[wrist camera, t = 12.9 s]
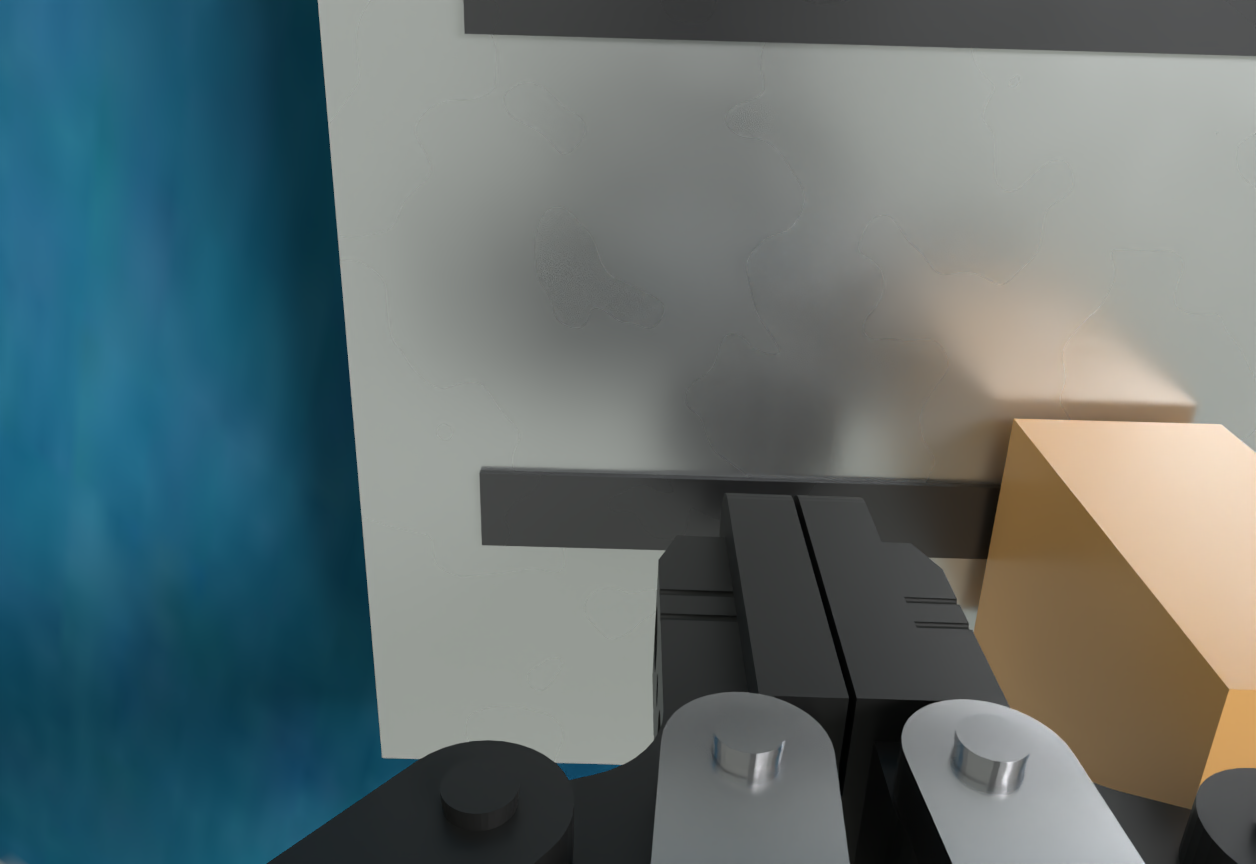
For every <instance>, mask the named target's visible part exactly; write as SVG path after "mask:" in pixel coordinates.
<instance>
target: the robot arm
mask: <svg viewBox="0 0 1256 864" xmlns="http://www.w3.org/2000/svg"><path fill="white" fill-rule="evenodd" d="M652 683H653V735H654V741H653V742H652V743H651V744H650V745H649V746H648V747H647V748H646V750H644V751H643V752H642V753H641V754H639V755H638V756H637V757H636V758H634V759H632V760H631V761H629V762H627V763H625V764H624V765H621V766H619V767H617V768H614V769H612V770H609V771H606V772H602V773H599V774H595V775H591V776H587V777H582V778H577V779H573V780H568V778H567V777H566V775H565V773H564V772H563V771H562V769H561V768H560V767H559V766H558V765H557V764H556V763H555V762H554V761H552V760H551V759H549V758H548V757H547V756H545V755H544V754H542V753H540V752H538V751H536V750H534V749H532V748H529V747H526V746H523V745H520V744H516V743H511V742H505V741H494V740H482V741H470V742H464V743H458V744H455V745H451V746H448V747H444V748H442V749H439V750H437V751H435V752H432V753H430V754H428V755H426V756H425V757H423V758H421V759H420V760H418V761H416V762H415V763H413V764H412V765H411V766H409V767H408V768H406V769H405V770H403V771H402V772H400V773H399V774H397V775H396V776H394V777H393V778H391V779H390V780H389V781H387V782H386V783H384V784H383V785H381V786H380V787H378V788H377V789H375V790H374V791H372V792H371V793H369V794H368V795H367V796H365V797H364V798H362V799H361V800H359V801H358V802H356V803H355V804H353V805H352V806H350V807H349V808H347V809H346V810H345V811H343V812H342V813H340V814H339V815H337V816H336V817H334V818H333V819H331V820H330V821H328V822H327V823H325V824H324V825H323V826H321V827H320V828H318V829H317V830H315V831H314V832H312V833H311V834H309V835H308V836H306V837H305V838H303V839H302V840H301V841H299V842H298V843H296V844H295V845H293V846H292V847H290V848H289V849H287V850H286V851H284V852H283V853H281V854H280V855H279V856H277V857H276V858H274V859H273V860H271V861H270V862H268V863H267V864H1256V768H1235V769H1228V770H1224V771H1221V772H1218V773H1215V774H1213V775H1212V776H1210V777H1208V778H1207V779H1205V781H1204V782H1203V783H1202V784H1201V785H1200V786H1199V789H1198V791H1197V794H1196V797H1195V800H1194V803H1193V806H1192V809H1187V808H1183V807H1179V806H1175V805H1172V804H1168V803H1164V802H1160V801H1156V800H1152V799H1148V798H1144V797H1140V796H1136V795H1132V794H1128V793H1125V792H1121V791H1117V790H1114V789H1111V788H1108V787H1104V786H1102V785H1099V784H1097V783H1094V782H1092V781H1091V779H1090V778H1089V776H1088V775H1087V773H1086V772H1085V770H1084V769H1083V767H1082V765H1081V764H1080V762H1079V761H1078V759H1077V758H1076V756H1075V755H1074V753H1073V752H1072V750H1071V749H1070V748H1069V747H1068V745H1067V744H1066V743H1065V742H1064V741H1063V740H1062V739H1061V738H1060V737H1059V736H1058V735H1057V734H1056V733H1055V732H1053V731H1052V730H1051V729H1049V728H1048V727H1047V726H1045V725H1044V724H1042V723H1041V722H1039V721H1037V720H1036V719H1034V718H1032V717H1030V716H1028V715H1026V714H1024V713H1022V712H1019V711H1017V710H1014V709H1011V708H1010V706H1009V704H1008V702H1007V700H1006V698H1005V696H1004V694H1003V692H1002V690H1001V688H1000V686H999V684H998V682H997V680H996V677H995V675H994V673H993V671H992V669H991V667H990V665H989V663H988V661H987V659H986V657H985V655H984V653H983V651H982V649H981V647H980V645H979V643H978V641H977V639H976V637H975V635H974V633H973V630H970V629H969V622H968V620H967V618H966V616H965V614H964V612H963V610H962V608H961V606H960V605H957V598H956V596H955V594H954V592H953V590H952V588H951V586H950V584H949V581H948V579H947V577H946V575H945V573H944V571H943V569H942V568H940V567H939V566H938V565H937V564H936V563H934V562H933V561H932V560H931V559H929V558H928V557H927V556H926V555H925V554H923V553H922V552H921V551H920V550H918V549H917V548H916V547H915V546H914V545H912V544H911V543H890V542H881V539H880V537H879V535H878V532H877V530H876V527H875V525H874V522H873V520H872V517H871V515H870V513H869V510H868V508H867V505H866V503H865V501H864V499H863V498H861V497H837V496H808V495H795V496H794V497H793V498H792V496H791V495H773V494H744V493H725V494H724V496H723V501H722V509H721V520H720V532H719V537H708V536H678V535H677V536H676V537H675V539H674V540H673V541H672V543H671V544H670V545H669V547H668V548H667V549H666V551H665V552H664V553H663V555H662V556H661V557H660V559H659V560H658V578H657V597H656V616H655V635H654V654H653V673H652Z"/></svg>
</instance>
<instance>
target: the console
mask: <svg viewBox="0 0 1256 864" xmlns="http://www.w3.org/2000/svg"><path fill="white" fill-rule="evenodd" d="M318 9H319V21H320V33H321V44H322V56H323V68H324V80H325V91H326V103H327V115H328V127H329V139H330V150H331V162H332V174H333V186H334V197H335V209H336V221H337V233H338V244H339V256H340V268H341V280H342V291H343V303H344V315H345V327H346V339H347V350H348V362H349V374H350V386H351V397H352V409H353V421H354V433H355V444H356V456H357V468H358V480H359V492H360V503H361V515H362V527H363V539H364V550H365V562H366V574H367V586H368V597H369V609H370V621H371V633H372V645H373V656H374V668H375V680H376V692H377V703H378V715H379V727H380V739H381V750H382V758H402V759H421V758H423V757H425V756H426V755H428V754H430V753H432V752H435V751H437V750H439V749H442V748H444V747H448V746H451V745H455V744H458V743H464V742H470V741H482V740H494V741H505V742H511V743H516V744H520V745H523V746H526V747H529V748H532V749H534V750H536V751H538V752H540V753H542V754H544V755H545V756H547V757H548V758H549V759H551V760H552V761H554V762H555V763H583V764H619V765H624V764H625V763H627V762H629V761H631V760H632V759H634V758H636V757H637V756H638V755H639V754H641V753H642V752H643V751H644V750H646V748H647V747H648V746H649V745H650V744H651V743H652V742H653V741H654V735H653V683H652V673H653V654H654V635H655V616H656V597H657V578H658V560H659V559H660V557H661V556H662V555H663V553H664V552H665V551H666V549H667V548H668V547H669V545H670V544H671V543H672V541H673V540H674V539H675V537H676V536H677V535H678V536H708V537H719V532H720V520H721V509H722V501H723V496H724V494H725V493H744V494H773V495H791V496H792V498H793V497H794V496H795V495H808V496H837V497H861V498H863V499H864V501H865V503H866V505H867V508H868V510H869V513H870V515H871V517H872V520H873V522H874V525H875V527H876V530H877V532H878V535H879V537H880V539H881V542H890V543H911V544H912V545H914V546H915V547H916V548H917V549H918V550H920V551H921V552H922V553H923V554H925V555H926V556H927V557H928V558H929V559H931V560H932V561H933V562H934V563H936V564H937V565H938V566H939V567H940V568H942V569H943V571H944V573H945V575H946V577H947V579H948V581H949V584H950V586H951V588H952V590H953V592H954V594H955V596H956V598H957V605H960V606H961V608H962V610H963V612H964V614H965V616H966V618H967V620H968V622H969V629H970V630H973V633H974V627H975V622H976V617H977V611H978V606H979V601H980V595H981V590H982V585H983V579H984V574H985V569H986V563H987V558H988V553H989V547H990V542H991V537H992V531H993V526H994V521H995V515H996V510H997V505H998V499H999V494H1000V489H1001V483H1002V478H1003V473H1004V467H1005V462H1006V457H1007V451H1008V446H1009V440H1010V435H1011V430H1012V424H1013V419H1014V418H1015V419H1051V420H1087V421H1123V422H1158V423H1194V424H1221V425H1223V426H1224V427H1225V428H1226V429H1228V430H1229V431H1230V432H1231V433H1232V434H1234V435H1235V436H1236V437H1237V438H1239V439H1240V440H1241V441H1242V442H1244V443H1245V444H1246V445H1247V446H1248V447H1250V448H1251V449H1252V450H1253V451H1255V452H1256V0H318Z"/></svg>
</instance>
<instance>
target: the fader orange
mask: <svg viewBox="0 0 1256 864" xmlns="http://www.w3.org/2000/svg"><path fill="white" fill-rule="evenodd" d="M974 635H975V637H976V639H977V641H978V643H979V645H980V647H981V649H982V651H983V653H984V655H985V657H986V659H987V661H988V663H989V665H990V667H991V669H992V671H993V673H994V675H995V677H996V680H997V682H998V684H999V686H1000V688H1001V690H1002V692H1003V694H1004V696H1005V698H1006V700H1007V702H1008V704H1009V706H1010V708H1011V709H1014V710H1017V711H1019V712H1022V713H1024V714H1026V715H1028V716H1030V717H1032V718H1034V719H1036V720H1037V721H1039V722H1041V723H1042V724H1044V725H1045V726H1047V727H1048V728H1049V729H1051V730H1052V731H1053V732H1055V733H1056V734H1057V735H1058V736H1059V737H1060V738H1061V739H1062V740H1063V741H1064V742H1065V743H1066V744H1067V745H1068V747H1069V748H1070V749H1071V750H1072V752H1073V753H1074V755H1075V756H1076V758H1077V759H1078V761H1079V762H1080V764H1081V765H1082V767H1083V769H1084V770H1085V772H1086V773H1087V775H1088V776H1089V778H1090V779H1091V781H1092V782H1094V783H1097V784H1099V785H1102V786H1104V787H1108V788H1111V789H1114V790H1117V791H1121V792H1125V793H1128V794H1132V795H1136V796H1140V797H1144V798H1148V799H1152V800H1156V801H1160V802H1164V803H1168V804H1172V805H1175V806H1179V807H1183V808H1187V809H1192V806H1193V803H1194V800H1195V797H1196V794H1197V791H1198V789H1199V786H1200V785H1201V784H1202V783H1203V782H1204V781H1205V779H1207V778H1208V777H1210V776H1212V775H1213V774H1215V773H1218V772H1221V771H1224V770H1228V769H1235V768H1256V452H1255V451H1253V450H1252V449H1251V448H1250V447H1248V446H1247V445H1246V444H1245V443H1244V442H1242V441H1241V440H1240V439H1239V438H1237V437H1236V436H1235V435H1234V434H1232V433H1231V432H1230V431H1229V430H1228V429H1226V428H1225V427H1224V426H1223V425H1221V424H1194V423H1158V422H1123V421H1087V420H1051V419H1015V418H1014V419H1013V424H1012V430H1011V435H1010V440H1009V446H1008V451H1007V457H1006V462H1005V467H1004V473H1003V478H1002V483H1001V489H1000V494H999V499H998V505H997V510H996V515H995V521H994V526H993V531H992V537H991V542H990V547H989V553H988V558H987V563H986V569H985V574H984V579H983V585H982V590H981V595H980V601H979V606H978V611H977V617H976V622H975V627H974Z"/></svg>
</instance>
